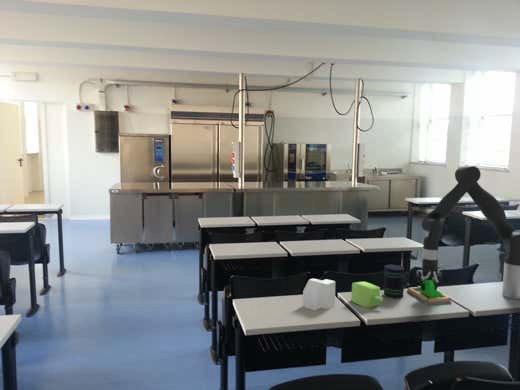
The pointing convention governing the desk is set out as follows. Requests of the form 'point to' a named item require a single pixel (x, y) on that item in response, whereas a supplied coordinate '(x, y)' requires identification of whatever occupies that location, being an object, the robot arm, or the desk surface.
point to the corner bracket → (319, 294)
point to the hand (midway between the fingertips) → (428, 289)
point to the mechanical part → (430, 290)
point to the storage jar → (393, 281)
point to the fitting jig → (428, 300)
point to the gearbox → (366, 294)
